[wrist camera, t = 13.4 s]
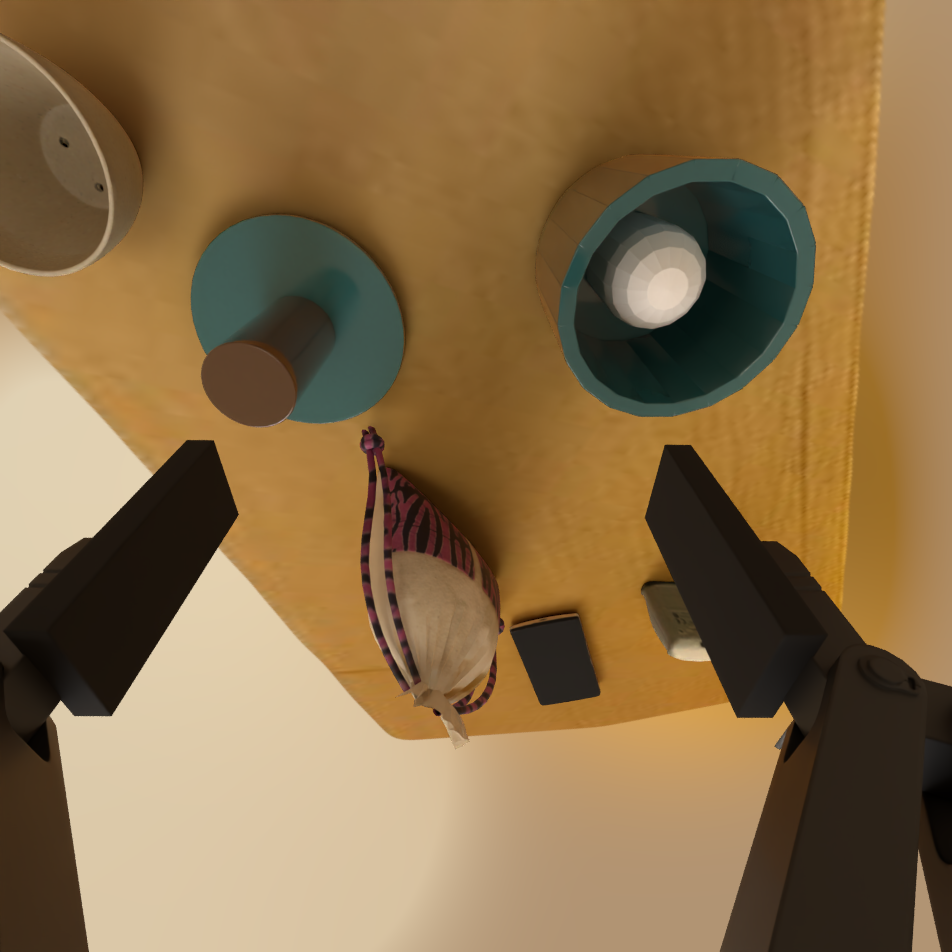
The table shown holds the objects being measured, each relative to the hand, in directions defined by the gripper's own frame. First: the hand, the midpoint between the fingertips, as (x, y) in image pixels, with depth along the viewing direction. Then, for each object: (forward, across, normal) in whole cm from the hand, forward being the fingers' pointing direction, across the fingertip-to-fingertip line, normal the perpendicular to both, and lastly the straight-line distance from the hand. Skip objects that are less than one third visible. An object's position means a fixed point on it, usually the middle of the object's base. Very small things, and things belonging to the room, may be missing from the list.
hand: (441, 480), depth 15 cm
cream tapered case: (+22, +21, -28) cm, 41 cm away
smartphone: (+22, +11, -39) cm, 46 cm away
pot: (+22, +11, +2) cm, 24 cm away
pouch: (+22, -2, -21) cm, 30 cm away
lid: (+21, -11, -2) cm, 24 cm away
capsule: (+21, +11, +2) cm, 24 cm away
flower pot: (+22, -21, +7) cm, 31 cm away
